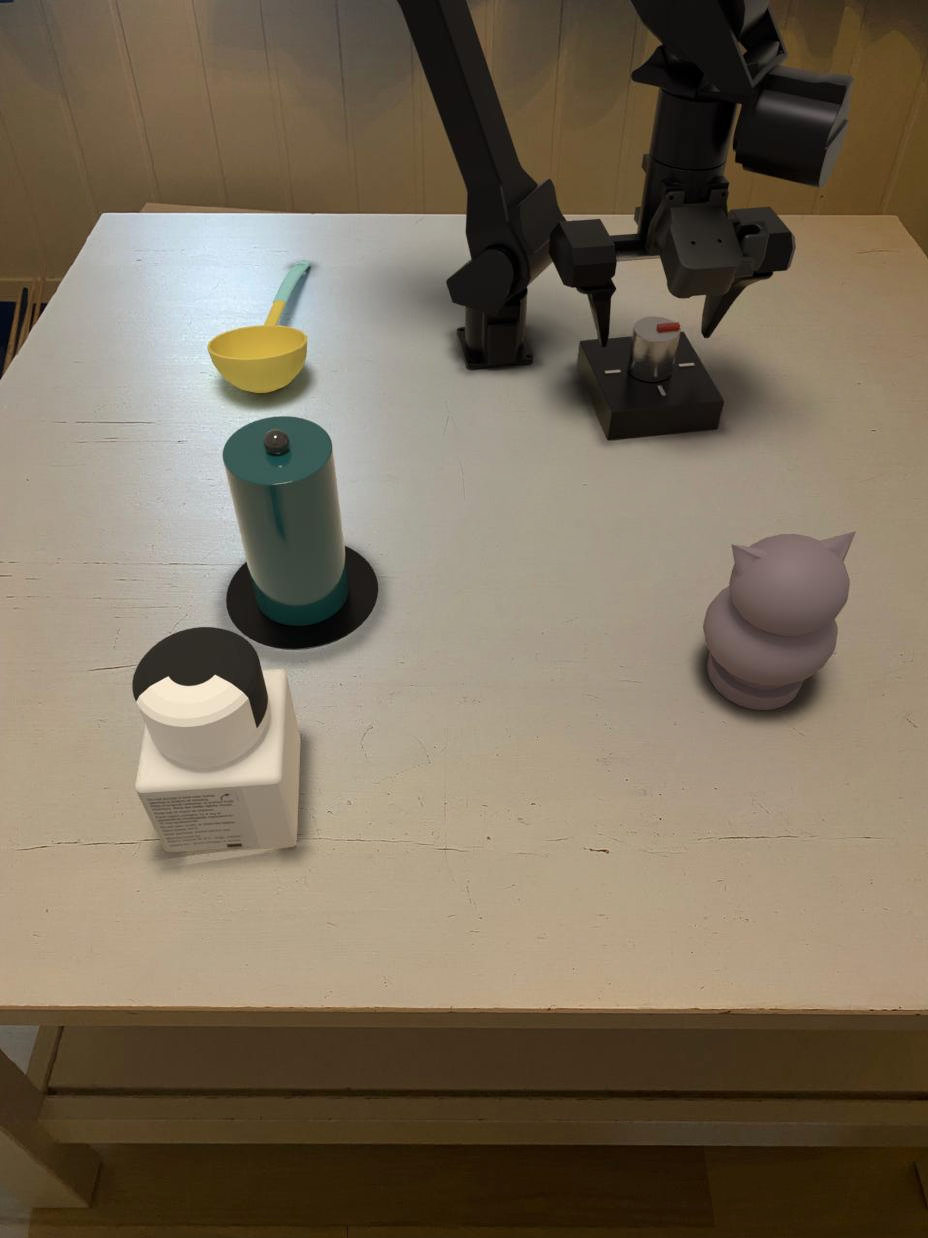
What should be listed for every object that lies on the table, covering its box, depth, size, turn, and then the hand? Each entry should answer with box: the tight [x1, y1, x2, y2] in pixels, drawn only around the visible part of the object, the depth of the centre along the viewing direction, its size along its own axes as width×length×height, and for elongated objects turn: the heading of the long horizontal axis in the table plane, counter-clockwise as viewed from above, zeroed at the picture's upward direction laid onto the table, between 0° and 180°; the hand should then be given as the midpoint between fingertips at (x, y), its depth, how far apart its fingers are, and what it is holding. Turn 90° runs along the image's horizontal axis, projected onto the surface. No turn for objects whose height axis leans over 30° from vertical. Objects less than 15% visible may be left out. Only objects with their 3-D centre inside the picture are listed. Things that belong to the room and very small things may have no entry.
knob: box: [627, 316, 681, 382], centre depth 82 cm, size 4×4×4 cm
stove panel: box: [576, 331, 725, 441], centre depth 85 cm, size 11×10×3 cm
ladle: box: [206, 259, 312, 394], centre depth 92 cm, size 9×26×6 cm, turn 177°
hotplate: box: [225, 545, 379, 651], centre depth 69 cm, size 11×11×1 cm
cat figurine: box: [702, 530, 857, 711], centre depth 60 cm, size 8×8×12 cm
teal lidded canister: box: [221, 415, 349, 626], centre depth 63 cm, size 7×7×14 cm
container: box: [131, 626, 301, 854], centre depth 53 cm, size 8×8×13 cm
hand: (653, 340), depth 82 cm, fingers open, 9 cm apart
